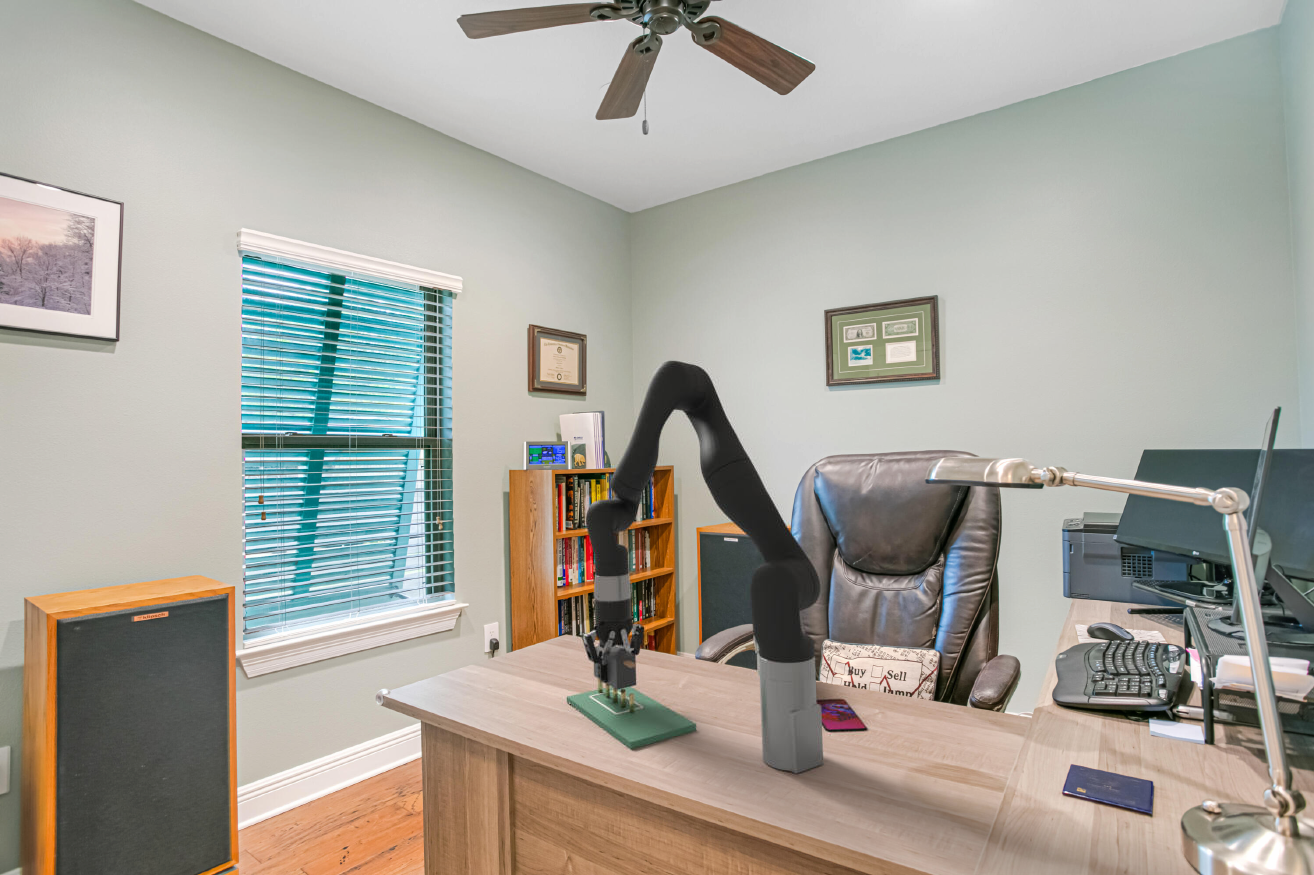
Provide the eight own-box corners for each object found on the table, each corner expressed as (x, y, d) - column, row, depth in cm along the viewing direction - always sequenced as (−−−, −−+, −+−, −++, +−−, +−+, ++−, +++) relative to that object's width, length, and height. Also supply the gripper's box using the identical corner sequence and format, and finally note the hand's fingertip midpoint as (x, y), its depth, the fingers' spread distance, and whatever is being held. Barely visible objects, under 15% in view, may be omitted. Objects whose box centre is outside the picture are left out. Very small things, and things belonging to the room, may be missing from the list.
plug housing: (643, 689, 131) (642, 658, 131) (624, 693, 129) (623, 662, 129) (612, 671, 142) (611, 643, 142) (594, 675, 140) (593, 647, 140)
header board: (696, 730, 124) (696, 723, 124) (630, 749, 117) (630, 741, 117) (624, 688, 148) (624, 682, 148) (566, 702, 140) (566, 696, 140)
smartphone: (826, 729, 121) (806, 699, 136) (826, 734, 121) (807, 704, 136) (868, 728, 121) (844, 698, 136) (868, 733, 121) (844, 702, 136)
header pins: (635, 712, 130) (635, 694, 130) (631, 713, 130) (630, 695, 130) (601, 691, 143) (601, 674, 143) (597, 692, 143) (596, 675, 143)
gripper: (589, 603, 130) (591, 691, 130) (651, 594, 138) (653, 677, 137) (573, 597, 137) (575, 681, 136) (633, 588, 144) (636, 668, 144)
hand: (614, 678), depth 137 cm, fingers closed on plug housing, 4 cm apart
